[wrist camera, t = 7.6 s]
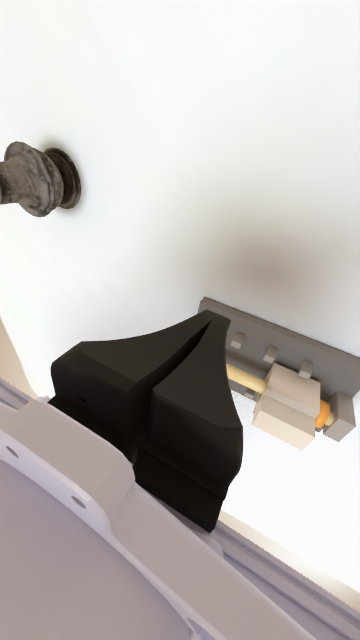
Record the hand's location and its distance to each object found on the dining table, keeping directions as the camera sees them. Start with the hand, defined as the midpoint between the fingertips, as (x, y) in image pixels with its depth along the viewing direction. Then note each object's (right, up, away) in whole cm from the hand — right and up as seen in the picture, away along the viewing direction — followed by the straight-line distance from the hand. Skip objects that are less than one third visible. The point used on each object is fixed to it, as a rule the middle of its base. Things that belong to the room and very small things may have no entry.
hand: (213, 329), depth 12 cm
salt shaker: (-14, +15, +12) cm, 24 cm away
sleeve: (+8, -5, +10) cm, 14 cm away
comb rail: (+7, -4, +12) cm, 14 cm away
